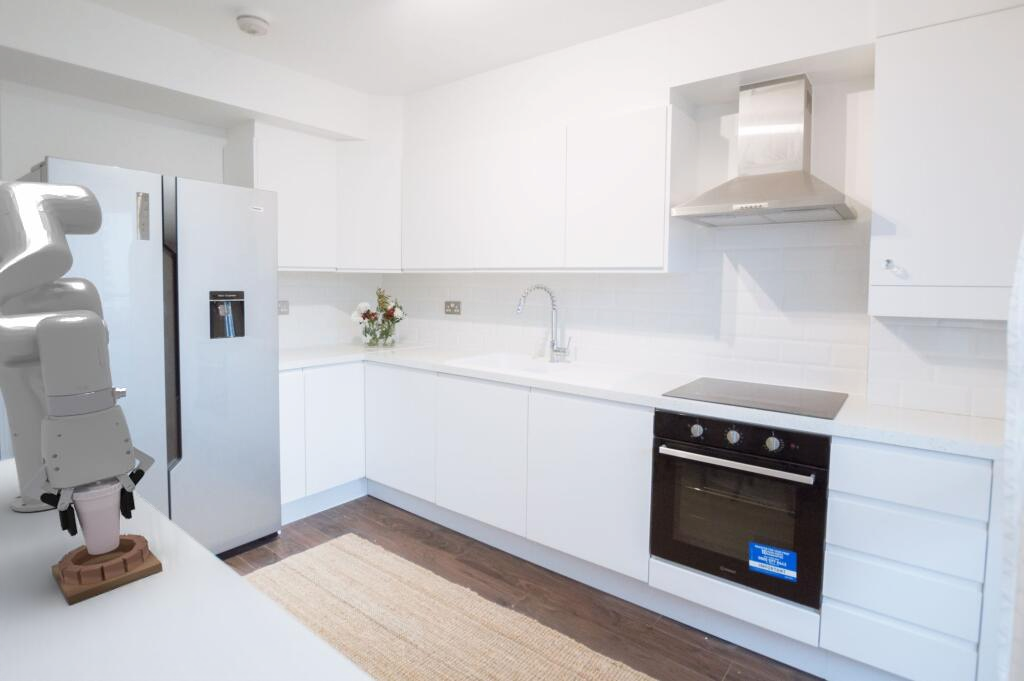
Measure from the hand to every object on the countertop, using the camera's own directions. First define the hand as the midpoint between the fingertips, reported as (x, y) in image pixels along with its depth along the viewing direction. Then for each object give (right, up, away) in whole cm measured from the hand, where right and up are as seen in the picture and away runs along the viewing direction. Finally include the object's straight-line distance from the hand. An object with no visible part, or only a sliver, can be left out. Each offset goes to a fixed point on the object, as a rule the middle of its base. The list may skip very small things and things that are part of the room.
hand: (100, 523), depth 83 cm
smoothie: (0, -4, +1) cm, 4 cm away
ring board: (0, -7, +1) cm, 8 cm away
